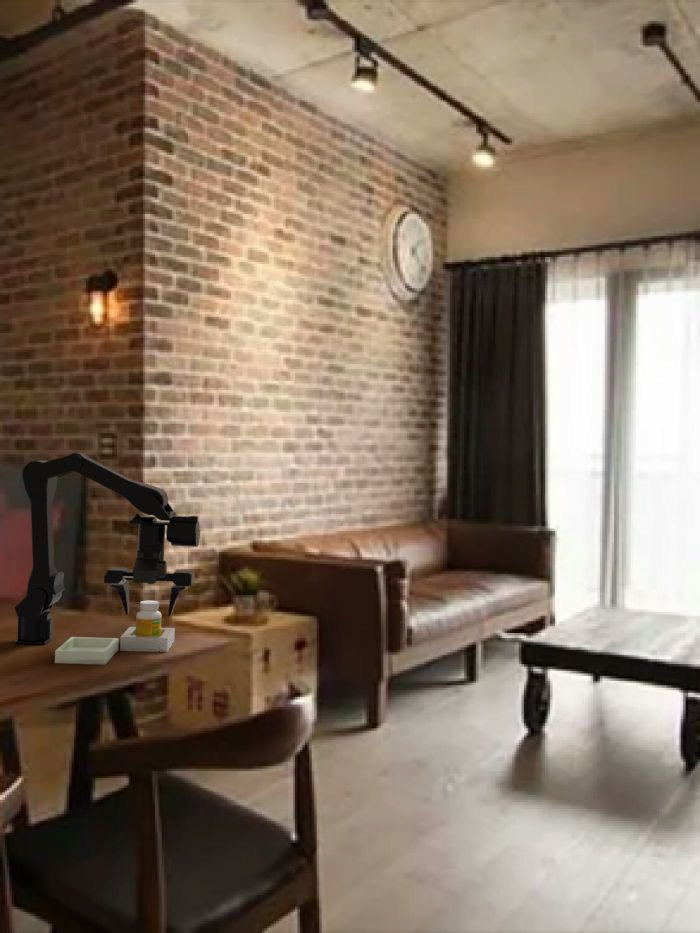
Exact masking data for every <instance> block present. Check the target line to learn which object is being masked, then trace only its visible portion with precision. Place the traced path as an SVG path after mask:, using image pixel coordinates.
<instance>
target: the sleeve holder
mask: <svg viewBox="0 0 700 933" xmlns="http://www.w3.org/2000/svg"><path fill="white" fill-rule="evenodd" d="M175 632H176V630H175V627H161V636H141V635H136V626H129V627H128V628H127V629H126V630H125V631H124V632H123V633H122V635H120V639H119V640H120V641H119V644H120V646H119V648H120V649H119V650H120V652H121V651H123V652H149V653H150V652H152V653H153V652H154V653H168V652H169V650H170V649H169V648H171V647H172V646H173V644H174V643H175V635H176V634H175ZM172 643H173V644H172ZM159 651H160V652H159Z"/></svg>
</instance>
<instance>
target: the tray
mask: <svg viewBox="0 0 700 933" xmlns="http://www.w3.org/2000/svg"><path fill="white" fill-rule="evenodd" d="M119 640H120V639H119V638H116V637H114V638H113V637H85V636H84V637H81V636H79V637H78V636H71V637H70V638H69V639H67V640H66V641H65V642H63V643H62V644H61V645H60V646H59V647H57V649H55V651H54V653H55V654H54V663H55V664H73V665H74V664H78V665H79V664H80V665H106V664H107V663H108V662H109V661H110V660H111V659H112V657H114V655H115V654H117V652H118V651H119V644H120V641H119Z"/></svg>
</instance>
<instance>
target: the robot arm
mask: <svg viewBox="0 0 700 933" xmlns="http://www.w3.org/2000/svg"><path fill="white" fill-rule="evenodd" d="M73 473H77V474H80V475H82V476H83V477H86V478H87V479H89V480H91V481H93V482H95V483H96V484H99V485H101V486H103V487H105V488H107V489H108V490H111V491H112V492H115V493H116V494H118V495H120V496H122V497H123V498H124V499H126V501H128V502H129V503H130V505H132V506H133V507H134V508H136V509H137V510H138V511H140V512H137V513H136V514H135V516H134V517H133V518H132V519H130V520H129V521H128V522H129V525H138V536H137V537H138V538H137V554H136V559H135V561H134V564H133V566H132V571H129V570H128V567H121V566H119V567H118V566H112V567H110V568H109V569H107V570H106V571H104V579H103V581H104V582H103V583H105V584H110V588H114V589H115V590H116V592H117V594H118V595H119V597H120V600H121V603H122V606H123V610H124V613H125V616H128V615H130V581H132V582H133V583H134V584H148V585H154V584H156V582H172V583H173V585H172V586H171V588H170V590H171V591H170V598H169V604H168V615H167V616H168V618H169V617H171V616H172V614H173V611H174V608H175V606H176V602H177V600H178V598H179V595H180V594H181V591H185V590H186V589H187V588H188V587H192V585H193V584H194V582H195V572H194V571H193V569H175V571H173V572H172V573H171V572H168V566H167V565H168V564H167V561H166V560H165V546H166V545H165V543H166V541H167V542H168V543H170V544H171V546H173V547H192V548H198V547H199V544H200V541H201V540H200V539H201V529H200V522H199V520H200V519H199V518H200V517H199V515H187V516H186V515H177V514H176V512H175V510H174V509H173V508H172V506H171V505H170V503H169V496H168V494H167V492H166V491H165V490H164V489H163V488H160V487H158V486H155V485H152V484H148V483H146V482H145V483H144V482H140V481H137V480H133V479H131V478H130V477H127V476H125V475H123V474H122V473H120V472H118V471H116V470H114V469H113V468H110V467H108V466H106V465H104V464H102V463H100V462H98V461H97V460H95V459H92V458H91V457H89V456H87V455H86V454H85V453H84V452H72V453H70V454H68V455H66V456H63V457H59V458H55V459H52V460H45V459H44V460H42V459H41V460H34V461H33V460H32V461H30V462H28V463H27V464H26V465H24V467H23V468H22V472H21V478H22V482H23V487H24V491H25V493H26V495H27V498H28V500H29V503H30V522H31V524H30V525H31V526H30V527H31V551H32V568H31V572H30V574H29V579H28V581H27V588H26V596H25V597H24V598H23V599H22V600H21V601H20V602H19V603H18V604H17V605H16V606H14V610H15V613H16V616H17V638H16V640H14V644H27V645H29V644H30V645H31V644H32V645H33V644H34V645H45V644H47V643H48V642H49V641H50V640H52V639H53V638H54V637H53V636H54V619H53V618H52V611H51V610H53V607H54V606H55V603H57V602H58V601H59V600H60V599H61V598H62V595H63V591H65V590H66V587H65V584H64V579H65V572H64V571H62V572H58V570H57V568H56V565H55V548H54V521H53V518H54V516H53V499H54V496H55V493H56V491H57V484H58V479H60V478H61V477H64V476H67V475H70V474H73ZM142 513H143V514H144V515H145V516H144V515H143V514H142ZM146 515H147V516H146Z"/></svg>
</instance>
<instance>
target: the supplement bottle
mask: <svg viewBox="0 0 700 933" xmlns="http://www.w3.org/2000/svg"><path fill="white" fill-rule="evenodd" d="M159 604H160V603H159V601H157V600H141V601H140V603H139V609H140V611H137V613H136V621H135V622H136V623H135V627H136V635H141V636H161V628H162V612H160V611H159V606H160V605H159Z"/></svg>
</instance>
